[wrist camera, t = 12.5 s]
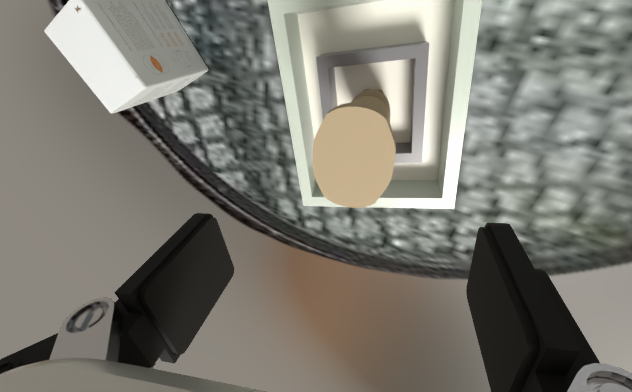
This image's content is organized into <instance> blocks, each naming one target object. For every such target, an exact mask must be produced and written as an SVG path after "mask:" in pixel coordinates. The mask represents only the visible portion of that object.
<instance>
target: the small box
mask: <svg viewBox="0 0 632 392" xmlns="http://www.w3.org/2000/svg"><path fill="white" fill-rule="evenodd" d="M44 32H45V33H46V34H47V36H48V37H49V38H50V39H51V40H52V41H53V43H54V44H55V45H56V47H57V48H58V49H59V50H60V51H61V53H62V54H63V55H64V56H65V58H66V59H67V60H68V61H69V63H70V64H71V65H72V66H73V68H74V69H75V70H76V71H77V72H78V74H79V75H80V76H81V77H82V79H83V80H84V81H85V82H86V84H87V85H88V86H89V87H90V89H91V90H92V91H93V92H94V93H95V95H96V96H97V97H98V98H99V100H100V101H101V102H102V103H103V105H104V106H105V107H106V108H107V110H108V111H109V112H110V113H116V112H119V111H122V110H124V109H127V108H130V107H133V106H136V105H139V104H142V103H145V102H148V101H151V100H154V99H157V98H159V97H162V96H165V95H168V94H171V93H174V92H177V91H179V90H181V89H182V88H184V87H185V86H187V85H188V84H189V83H191V82H192V81H194V80H195V79H197V78H198V77H200V76H201V75H202V74H204V73H205V72H207V71H208V67H207V66H206V64H205V63H204V61H203V60H202V58H201V56H200V55H199V53H198V52H197V50H196V48H195V47H194V45H193V44H192V42H191V40H190V39H189V37H188V36H187V34H186V33H185V31H184V29H183V28H182V26H181V25H180V23H179V21H178V20H177V18H176V17H175V15H174V14H173V12H172V10H171V9H170V7H169V5H168V4H167V2H166V1H165V0H69V1H68V2H67V4H66V5H65V6H64V7H63V8H62V10H61V11H60V12H59V13H58V14H57V16H56V17H55V18H54V19H53V20H52V21H51V23H50V24H49V25H48V26H47V28H46V29H45V30H44Z"/></svg>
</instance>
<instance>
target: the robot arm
mask: <svg viewBox="0 0 632 392" xmlns="http://www.w3.org/2000/svg"><path fill="white" fill-rule="evenodd" d="M233 273H234V266H233V264H232V261H231V258H230V255H229V253H228V250H227V247H226V244H225V242H224V239H223V236H222V234H221V230H220V228H219V225H218V222H217V220H216V219H215V218H213V216H212V215H211V214H201V213H197V214H194V215H193V216H192V217H191V218H190V219H189V220H188V221H187V222H186V223H185V224H184V225H183V226H182V227H181V228H180V229H179V230H178V231H177V232H176V233H175V234H174V235H173V236H172V237H171V238H170V239H169V240H168V241H167V242H166V243H165V244H164V245H162V247H160V248H159V250H157V251H156V252H155V253H154V254H153V255H152V257H150V258H149V259H148V260H147V261H146V262H145V263H144V264H143V265H142V266H141V267H140V268H139V269H138V270H137V271H136V272H135V273H134V274H133V275H132V276H131V277H130V278H129V279H128V280H127V281H126V282H125V283H124V284H123V285H122V286H121V287H120V288H119V289H118V290H117V291H116V292H115V294H116V295H117V297H118V298H119V299H118V300H117V301H116V302H114V301H113V300H112V299H111V298H107V297H103V298H98V299H94V300H91V301H89V302H87V303H85V304H83V305H82V306H80V307H78V308H77V309H76V310H74V311H73V312H72V313H71V314H70V315H69V316H68V317H67V318H66V319H65V320H64V322H63V323H62V326H61V327H60V330H59V333H57V334H55V335H53V336H51V337H49V338H46V339H45V340H42V341H40V342H38V343H35V344H33V345H31V346H29V347H27V348H24V349H22V350H20V351H18V352H16V353H14V354H11V355H9V356H7V357H5V358H3V359H1V360H0V392H265V391H260V390H256V389H250V388H246V387H240V386H236V385H231V384H226V383H221V382H216V381H212V380H207V379H201V378H196V377H191V376H186V375H181V374H176V373H171V372H166V371H161V370H156V369H155V366H156V364H155V362H156V361H157V359H158V358H160V359H161V360H162V361H165V362H170V363H175V362H176V361H177V359H178V358H179V356H180V354H183V353H184V352H185V351H186V349H187V348H188V347H189V345H190V343H191V342H192V340H193V339H194V337H195V335H196V334H197V332H198V331H199V329H200V327H201V326H202V324H203V323H204V321H205V319H206V318H207V316H208V315H209V313H210V311H211V310H212V308H213V307H214V305H215V303H216V302H217V300H218V298H219V297H220V295H221V294H222V292H223V291H224V289H225V287H226V286H227V284H228V283H229V281H230V279H231V278H232V276H233ZM467 299H468V303H469V307H470V311H471V315H472V319H473V323H474V326H475V330H476V334H477V338H478V342H479V345H480V349H481V354H482V357H483V361H484V365H485V369H486V373H487V376H488V381H489V385H490V388H491V392H632V373H630V372H628V371H626V370H624V369H622V368H619V367H615V366H612V365H608V364H600V363H599V360H598V359H597V357H596V355H595V354H594V352H593V350H592V349H591V347H590V345H589V344H588V342H587V340H586V339H585V337H584V335H583V334H582V332H581V331H580V328H579V327H578V325H577V323H576V322H575V320H574V318H573V317H572V315H571V313H570V312H569V310H568V308H567V307H566V305H565V303H564V302H563V300H562V298H561V296H560V295H559V293H558V291H557V290H556V288H555V286H554V285H553V283H552V281H551V280H550V278H549V276H548V275H547V274H546V272H545V271H543V270H542V269H534V267H533V265H532V263H531V262H530V260H529V258H528V256H527V254H526V253H525V251H524V249H523V247H522V245H521V244H520V242H519V240H518V238H517V236H516V235H515V233H514V231H513V229H512V227H511V226H510V224H506V223H487V224H486V225H485V227H480V228H479V230H478V234H477V239H476V244H475V249H474V254H473V259H472V264H471V268H470V273H469V278H468V283H467Z"/></svg>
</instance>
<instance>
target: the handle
mask: <svg viewBox="0 0 632 392" xmlns="http://www.w3.org/2000/svg"><path fill="white" fill-rule="evenodd" d="M395 155H396V142H395V138H394V134H393V131H392V128H391V125H390V105H389V102H388V99H387V98H386V96H385V95H384V94H383V91H382V90H380V89H378V90H371V89H369V88H368V89H365V90H364V91H363V92H361V93H360V94H358V95H357V96H356V97H355V98H354V99H353V100H352V101H351V103H346V104H341V105H339V106H337V107H335V108H333V109H331V110H330V111H329V112H328V113H327V114H326V116H325V118H324V120H323V122H322V124H321V125H320V127H319V129H318V132H317V134H316V136H315V139H314V142H313V161H312V165H313V173H314V176H315V179H316V181H317V183H318V186H319V188H320V190H321V192H322V194H323V196H324V197H325V198H326V199H328V200H329V201H331V202H333V203H335V204H338V205H341V206H345V207H353V208H360V207H366V206H370V205H372V204H375V202H376V201H377V200H378V199H379V197H380V196H381V195H382V194H383V192H384V191H385V190H386V188H387V187H388V185H389V183H390V181H391V177H392V174H393V168H394V162H395Z"/></svg>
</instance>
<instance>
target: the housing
mask: <svg viewBox="0 0 632 392" xmlns="http://www.w3.org/2000/svg"><path fill="white" fill-rule="evenodd" d="M268 5H269V11H270V17H271V23H272V28H273V34H274V40H275V46H276V51H277V57H278V63H279V69H280V74H281V80H282V86H283V91H284V97H285V103H286V109H287V114H288V120H289V126H290V132H291V137H292V143H293V149H294V155H295V160H296V166H297V172H298V177H299V183H300V189H301V195H302V200H303V206H336V207H345V206H341V205H338V204H335V203H333V202H331V201H329V200H328V199H326V198H325V197H324V196H323V194H322V192H321V190H320V188H319V186H318V183H317V181H316V179H315V176H314V173H313V165H312V161H313V142H314V139H315V136H316V134H317V132H318V129H319V127H320V125H321V124H322V122H323V120H324V118H325V116H326V114H327V113H328V112H329V111H330V110H331V109H333V108H335V107H337V106H339V105H341V104H346V103H351V101H352V100H353V99H354V98H355V97H356V96H357V95H358V94H360V93H361V92H363V91H364V90H365V89H368V88H369V89H371V90H378V89H380V90H382V91H383V94H384V95H385V96H386V98H387V99H388V102H389V105H390V125H391V128H392V131H393V134H394V138H395V142H396V155H395V162H394V168H393V174H392V177H391V181H390V183H389V185H388V187H387V188H386V190H385V191H384V192H383V194H382V195H381V196H380V197H379V199H378V200H377V201H376V202H375V204H372V205H370V206H366V207H387V208H438V209H454V205H455V198H456V190H457V183H458V175H459V168H460V161H461V153H462V146H463V138H464V131H465V123H466V116H467V109H468V101H469V94H470V86H471V79H472V71H473V64H474V57H475V49H476V42H477V34H478V27H479V20H480V12H481V5H482V0H268Z"/></svg>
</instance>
